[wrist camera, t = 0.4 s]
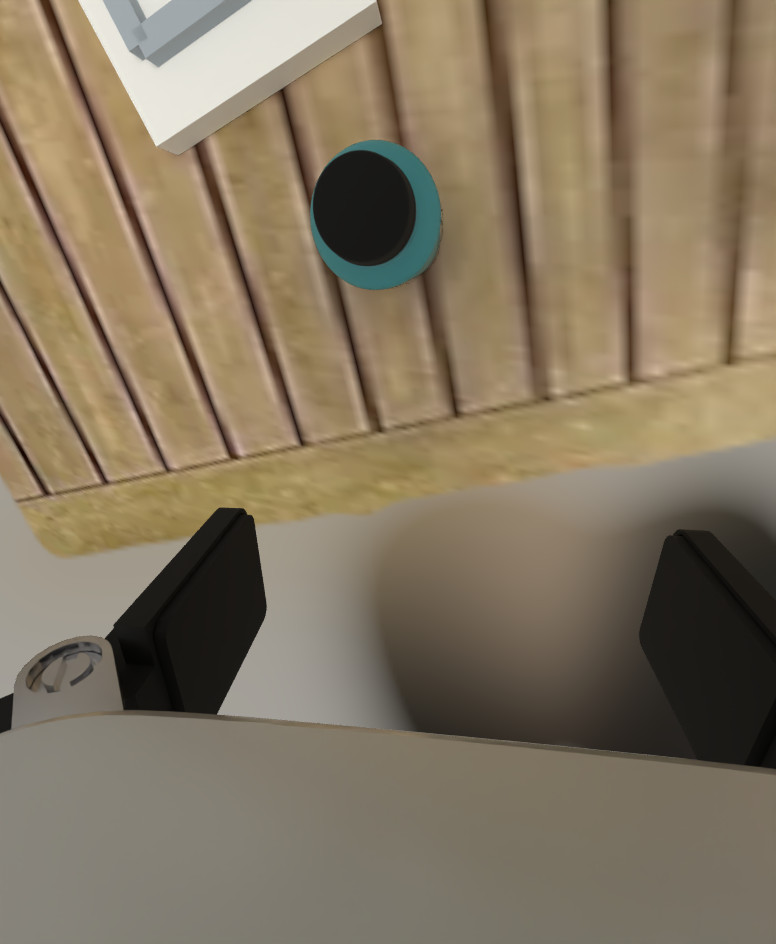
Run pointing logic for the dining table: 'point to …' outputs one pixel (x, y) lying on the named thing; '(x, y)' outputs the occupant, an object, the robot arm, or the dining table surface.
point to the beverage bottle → (376, 215)
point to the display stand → (218, 54)
